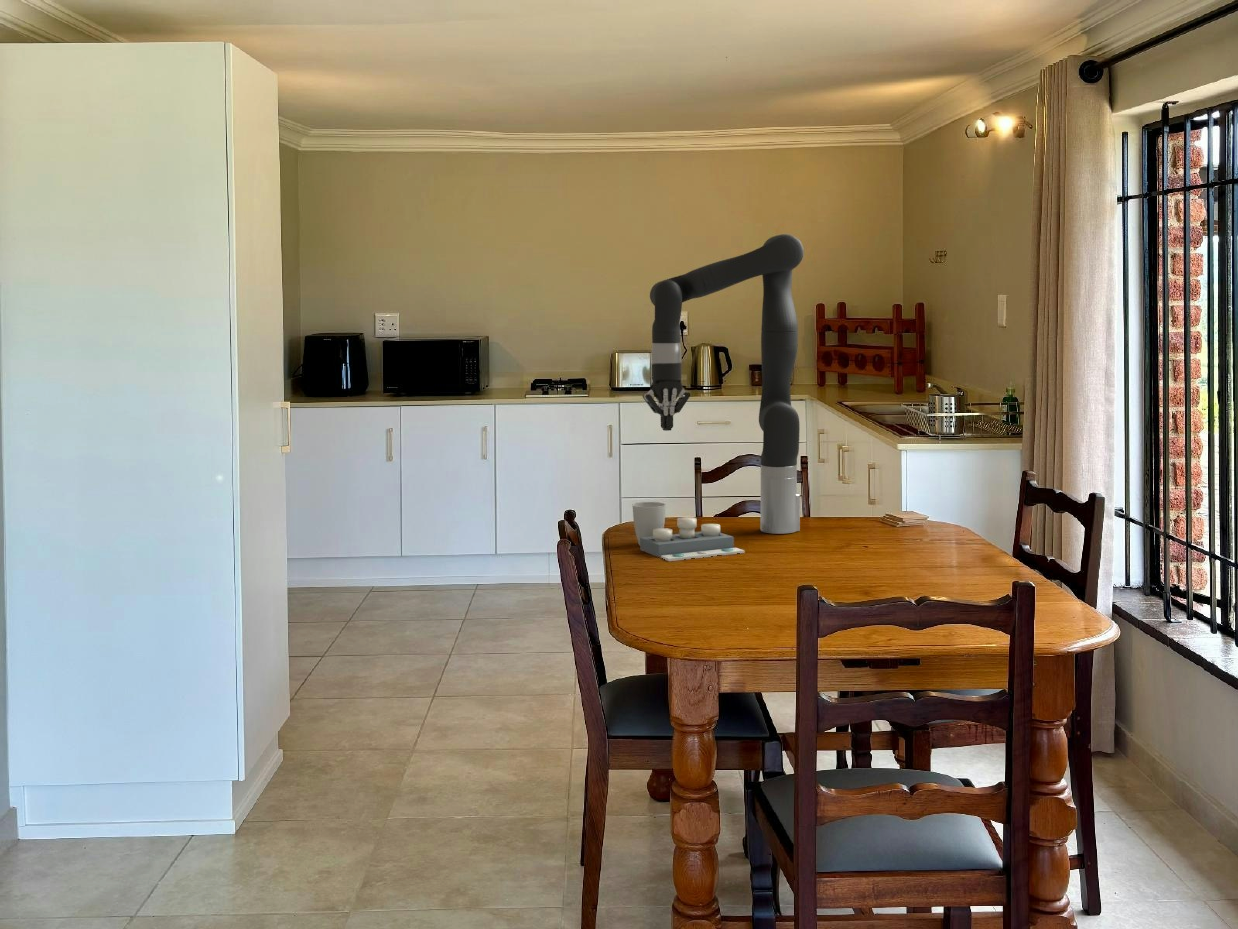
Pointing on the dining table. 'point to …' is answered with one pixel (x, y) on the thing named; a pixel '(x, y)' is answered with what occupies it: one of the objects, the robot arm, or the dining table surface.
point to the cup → (648, 518)
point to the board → (685, 544)
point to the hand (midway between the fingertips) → (666, 430)
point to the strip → (702, 554)
